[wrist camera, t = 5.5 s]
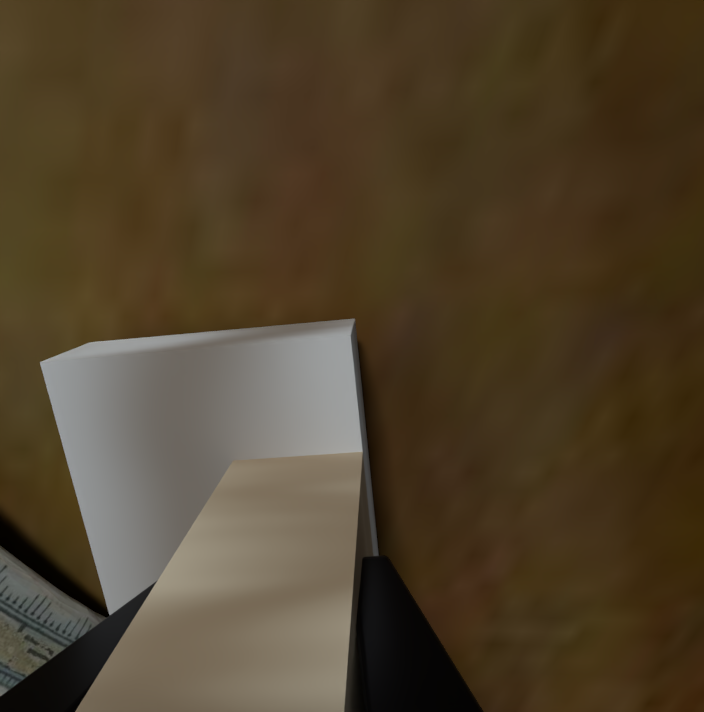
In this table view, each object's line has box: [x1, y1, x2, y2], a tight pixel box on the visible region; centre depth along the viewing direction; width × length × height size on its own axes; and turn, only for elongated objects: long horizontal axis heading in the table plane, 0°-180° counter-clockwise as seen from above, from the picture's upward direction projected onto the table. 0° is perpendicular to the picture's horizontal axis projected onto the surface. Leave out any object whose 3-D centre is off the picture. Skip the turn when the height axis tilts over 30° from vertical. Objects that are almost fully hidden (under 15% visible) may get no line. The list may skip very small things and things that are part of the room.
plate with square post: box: [40, 319, 379, 712], centre depth 7 cm, size 6×7×9 cm
